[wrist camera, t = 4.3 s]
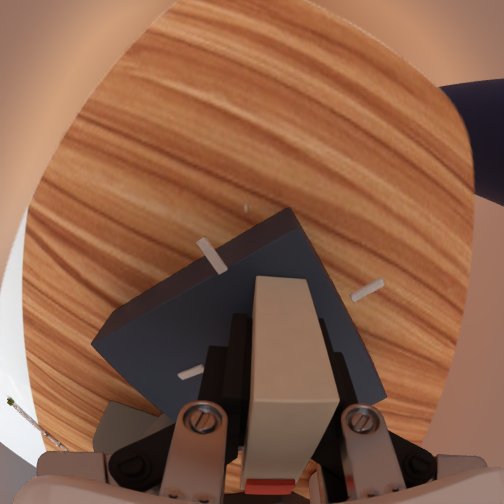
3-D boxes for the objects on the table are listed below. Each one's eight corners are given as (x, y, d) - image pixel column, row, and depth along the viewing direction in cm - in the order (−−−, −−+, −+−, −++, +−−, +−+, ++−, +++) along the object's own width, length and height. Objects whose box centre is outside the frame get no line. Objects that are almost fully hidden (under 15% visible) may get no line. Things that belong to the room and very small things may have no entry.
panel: (311, 157, 12) (328, 164, 9) (399, 348, 15) (418, 384, 13) (97, 292, 14) (70, 325, 11) (224, 421, 18) (220, 457, 15)
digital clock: (173, 478, 24) (158, 557, 14) (95, 446, 22) (66, 523, 12) (244, 418, 18) (237, 557, 8) (122, 365, 16) (60, 505, 7)
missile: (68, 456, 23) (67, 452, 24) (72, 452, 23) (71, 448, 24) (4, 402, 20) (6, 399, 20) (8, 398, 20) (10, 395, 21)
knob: (256, 274, 10) (253, 409, 5) (306, 278, 10) (343, 409, 5) (245, 381, 12) (239, 495, 7) (284, 383, 12) (293, 496, 7)
